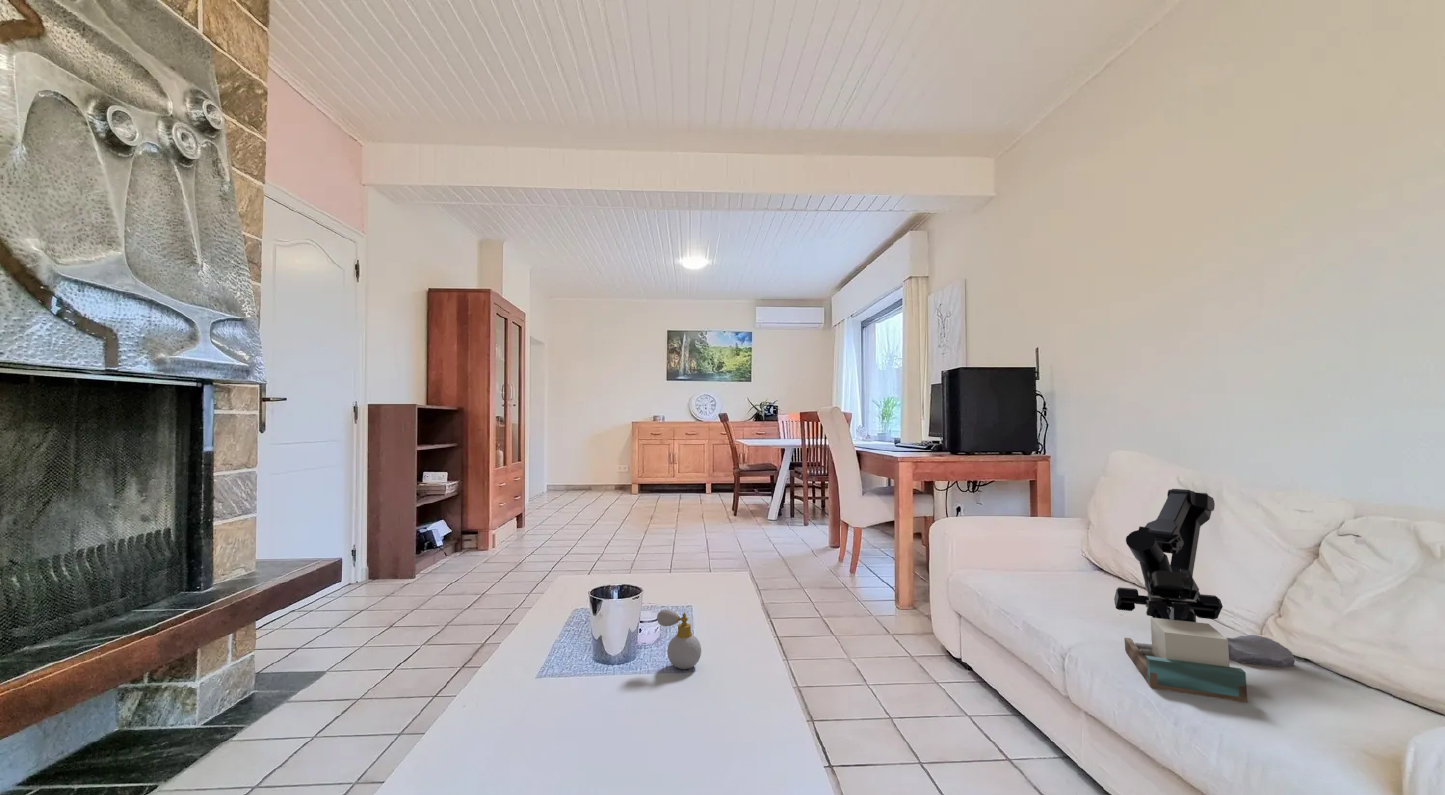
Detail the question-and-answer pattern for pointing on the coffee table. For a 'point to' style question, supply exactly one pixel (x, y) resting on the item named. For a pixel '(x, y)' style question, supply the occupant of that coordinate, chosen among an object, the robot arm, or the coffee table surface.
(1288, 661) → the stone block
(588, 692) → the coffee table surface
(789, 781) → the coffee table surface
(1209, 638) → the limestone slab
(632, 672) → the coffee table surface
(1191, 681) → the roller bed
